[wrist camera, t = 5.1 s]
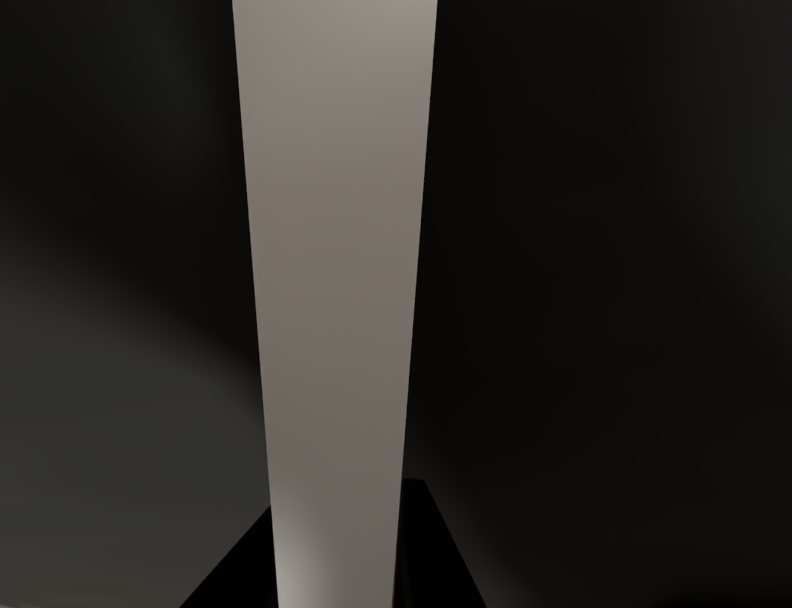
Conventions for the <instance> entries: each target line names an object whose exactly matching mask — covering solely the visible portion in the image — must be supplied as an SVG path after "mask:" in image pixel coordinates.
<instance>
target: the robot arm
mask: <svg viewBox="0 0 792 608" xmlns="http://www.w3.org/2000/svg"><path fill="white" fill-rule="evenodd" d="M396 555H397V564H396V583H395V602H394V608H487V607H486V605H485V603H484V601H483V599H482V597H481V595H480V593H479V590H478V588H477V586H476V584H475V582H474V580H473V578H472V576H471V574H470V572H469V570H468V568H467V566H466V564H465V562H464V560H463V558H462V556H461V554H460V552H459V550H458V548H457V546H456V544H455V542H454V540H453V537H452V535H451V533H450V531H449V529H448V527H447V525H446V523H445V521H444V519H443V517H442V515H441V513H440V511H439V509H438V507H437V505H436V503H435V501H434V499H433V497H432V495H431V493H430V491H429V489H428V487H427V485H426V483H425V481H424V480H422V479H414V478H402V479H401V490H400V503H399V516H398V530H397V547H396ZM179 608H279V603H278V590H277V577H276V564H275V550H274V537H273V524H272V511H271V505H270V506H269V507H268V508H267V509H266V510H265V512H264V513H263V514H262V515H261V516H260V517H259V518H258V519H257V521H256V522H255V523H254V524H253V525H252V526H251V527H250V528H249V530H248V531H247V532H246V533H245V534H244V535H243V536H242V537H241V539H240V540H239V541H238V542H237V543H236V544H235V545H234V546H233V548H232V549H231V550H230V551H229V552H228V553H227V554H226V555H225V557H224V558H223V559H222V560H221V561H220V562H219V563H218V565H217V566H216V567H215V568H214V569H213V570H212V571H211V572H210V574H209V575H208V576H207V577H206V578H205V579H204V580H203V581H202V583H201V584H200V585H199V586H198V587H197V588H196V589H195V590H194V592H193V593H192V594H191V595H190V596H189V597H188V598H187V599H186V601H185V602H184V603H183V604H182V605H181V606H180V607H179Z"/></svg>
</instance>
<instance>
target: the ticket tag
mask: <svg viewBox="0 0 792 608" xmlns="http://www.w3.org/2000/svg"><path fill="white" fill-rule="evenodd" d="M232 3H233V16H234V29H235V42H236V55H237V68H238V81H239V94H240V107H241V120H242V133H243V146H244V160H245V173H246V186H247V199H248V212H249V225H250V238H251V251H252V264H253V277H254V290H255V303H256V316H257V329H258V342H259V355H260V368H261V381H262V394H263V407H264V420H265V433H266V446H267V459H268V472H269V485H270V498H271V511H272V524H273V537H274V550H275V564H276V577H277V590H278V603H279V608H394V602H395V583H396V564H397V555H396V547H397V530H398V516H399V503H400V490H401V476H402V463H403V450H404V437H405V423H406V410H407V397H408V383H409V370H410V357H411V344H412V330H413V317H414V304H415V290H416V277H417V264H418V251H419V237H420V224H421V211H422V197H423V184H424V171H425V158H426V144H427V131H428V118H429V104H430V91H431V78H432V65H433V51H434V38H435V25H436V11H437V0H232Z"/></svg>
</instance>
